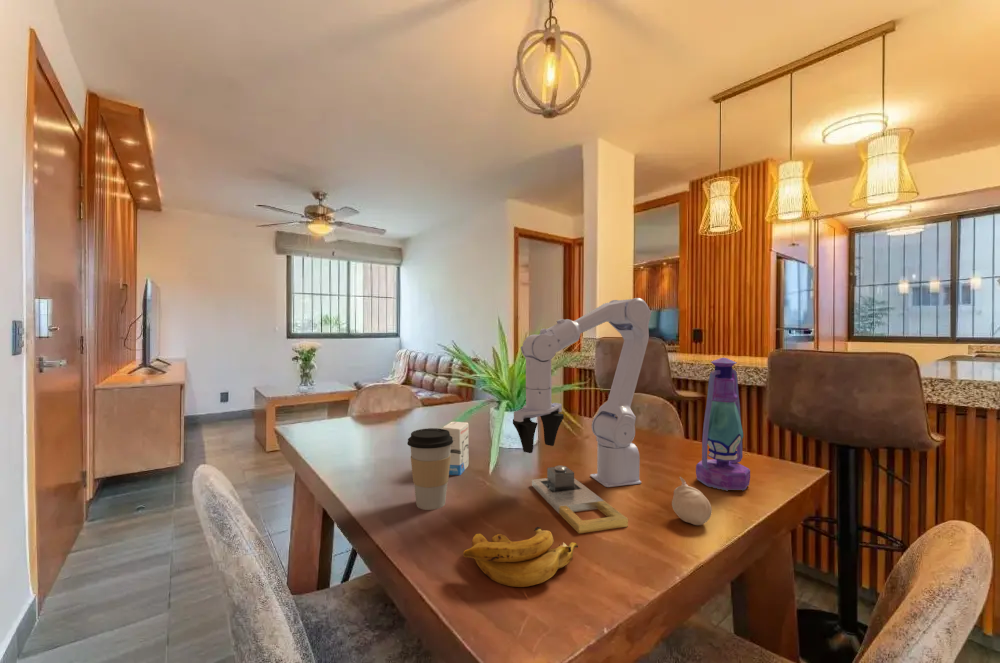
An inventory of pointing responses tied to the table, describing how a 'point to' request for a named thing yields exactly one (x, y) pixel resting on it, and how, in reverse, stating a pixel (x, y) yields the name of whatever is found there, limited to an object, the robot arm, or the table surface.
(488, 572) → the banana
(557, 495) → the plate with square hole
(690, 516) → the garlic bulb
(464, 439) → the ink box
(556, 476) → the grey knobbed block
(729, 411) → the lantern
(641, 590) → the table surface
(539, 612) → the table surface
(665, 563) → the table surface
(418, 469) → the coffee cup
